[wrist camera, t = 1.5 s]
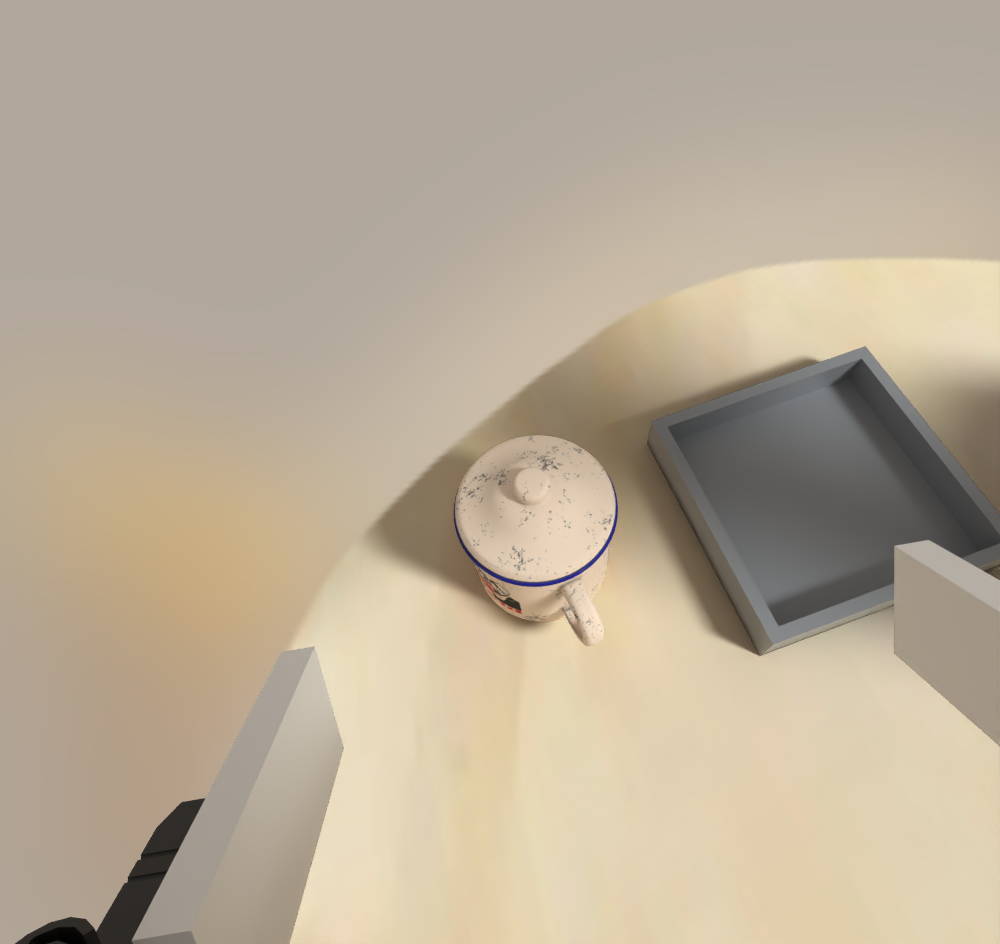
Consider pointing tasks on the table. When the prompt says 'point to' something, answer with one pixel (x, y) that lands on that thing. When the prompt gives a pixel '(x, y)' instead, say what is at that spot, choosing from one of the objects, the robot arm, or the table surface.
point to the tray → (818, 494)
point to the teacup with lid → (539, 529)
